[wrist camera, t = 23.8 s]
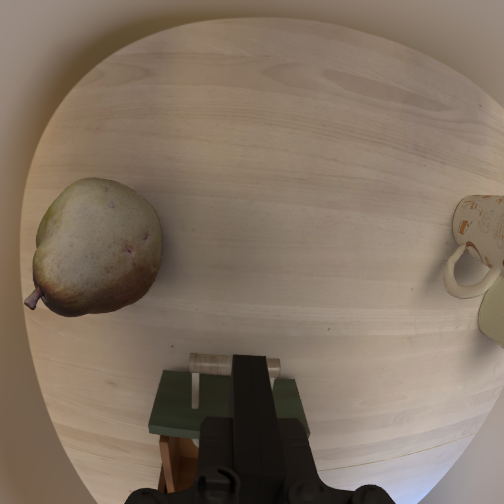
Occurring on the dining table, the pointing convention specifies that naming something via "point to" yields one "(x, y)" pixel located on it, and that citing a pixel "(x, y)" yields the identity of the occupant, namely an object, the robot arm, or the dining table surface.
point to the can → (493, 312)
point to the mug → (478, 242)
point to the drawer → (204, 410)
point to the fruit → (95, 249)
